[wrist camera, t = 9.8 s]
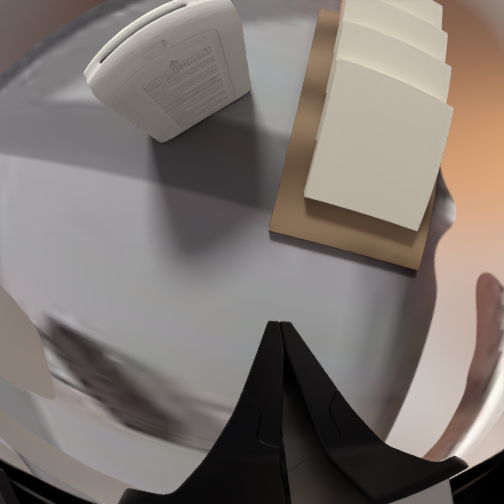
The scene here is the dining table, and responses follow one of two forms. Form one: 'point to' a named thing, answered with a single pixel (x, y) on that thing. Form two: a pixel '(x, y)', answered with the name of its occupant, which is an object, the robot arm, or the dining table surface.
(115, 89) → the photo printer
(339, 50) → the domino
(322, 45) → the walnut board
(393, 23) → the domino
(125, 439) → the dining table surface
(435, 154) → the domino
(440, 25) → the domino
